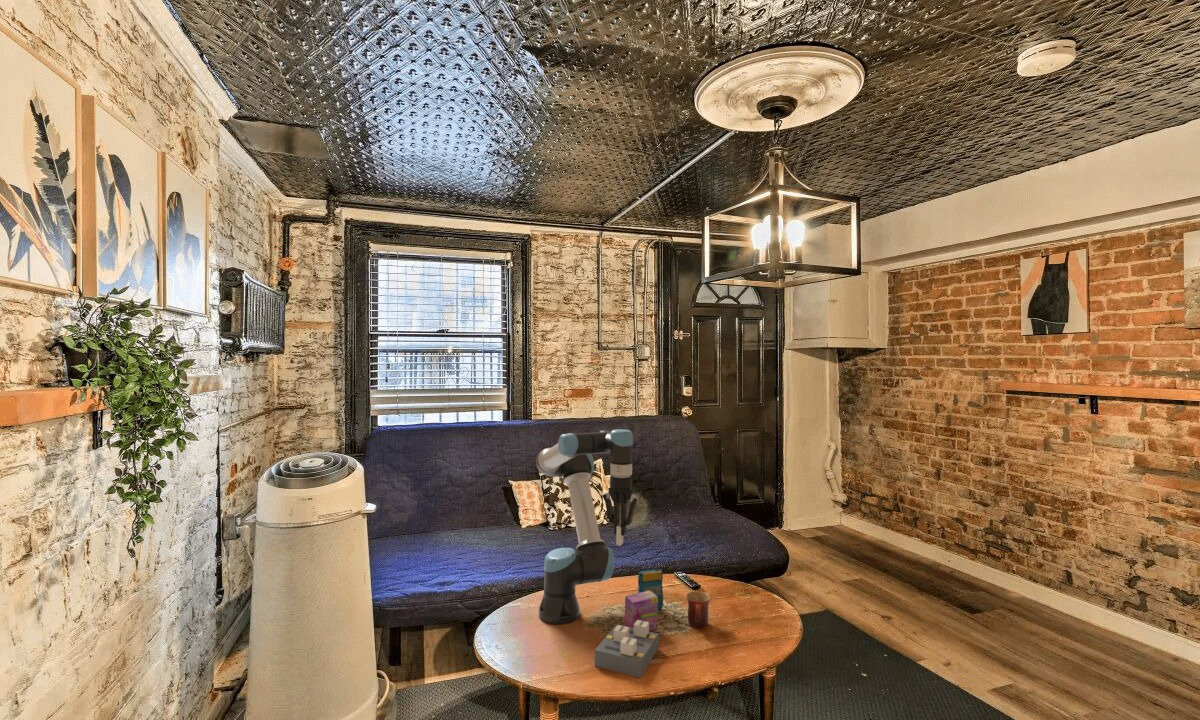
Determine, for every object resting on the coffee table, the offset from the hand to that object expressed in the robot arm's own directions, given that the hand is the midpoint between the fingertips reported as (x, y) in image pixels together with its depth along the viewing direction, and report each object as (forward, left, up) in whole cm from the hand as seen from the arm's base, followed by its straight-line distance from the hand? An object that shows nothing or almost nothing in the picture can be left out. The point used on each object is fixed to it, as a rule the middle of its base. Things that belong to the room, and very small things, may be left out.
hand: (619, 544), depth 188 cm
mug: (+23, +19, -33) cm, 44 cm away
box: (+5, +9, -33) cm, 34 cm away
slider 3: (+10, -4, -27) cm, 29 cm away
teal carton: (+4, +23, -33) cm, 40 cm away
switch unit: (+7, -10, -32) cm, 34 cm away
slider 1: (+5, -10, -27) cm, 29 cm away
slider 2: (+10, -16, -27) cm, 33 cm away
